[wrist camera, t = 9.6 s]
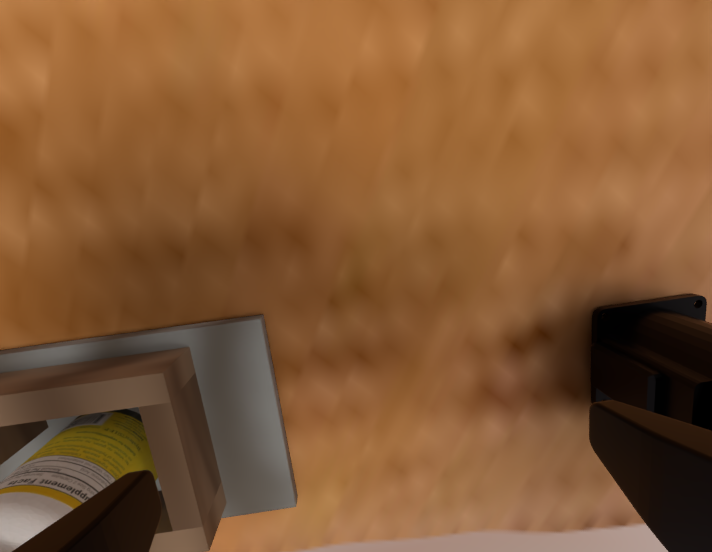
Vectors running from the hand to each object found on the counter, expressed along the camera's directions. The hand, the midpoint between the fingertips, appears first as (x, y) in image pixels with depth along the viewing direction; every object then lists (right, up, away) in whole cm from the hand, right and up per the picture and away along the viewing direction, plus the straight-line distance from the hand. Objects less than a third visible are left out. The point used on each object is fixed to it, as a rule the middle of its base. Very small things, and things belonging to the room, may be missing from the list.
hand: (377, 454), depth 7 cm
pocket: (-14, -6, +14) cm, 20 cm away
